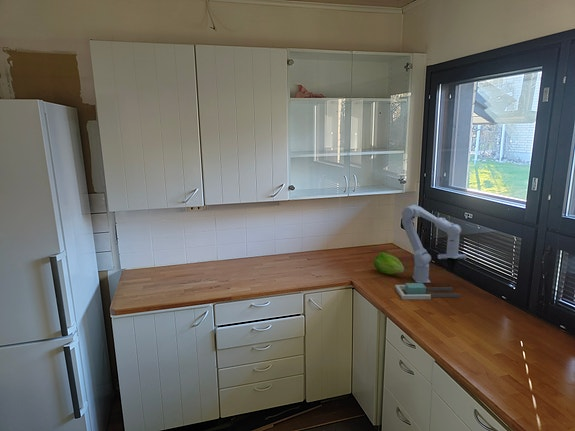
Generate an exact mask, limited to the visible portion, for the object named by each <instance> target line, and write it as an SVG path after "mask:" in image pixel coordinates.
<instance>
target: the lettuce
mask: <svg viewBox="0 0 575 431" xmlns="http://www.w3.org/2000/svg"><path fill="white" fill-rule="evenodd" d="M373 266H374V268H375V269H376V270H377V271H378V272H380V273H382V274H387V275H396V274H400V273H404V272H405V270H406V269H405V267H404V265H403V264H402V261H400V259H399V258H398V257H396V256H394V255H392V254H390V253H386V252H380V253H378V254H377V255H376V257H375V258H374V261H373Z"/></svg>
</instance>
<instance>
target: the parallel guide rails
mask: <svg viewBox="0 0 575 431" xmlns="http://www.w3.org/2000/svg"><path fill="white" fill-rule="evenodd" d="M425 287H426V292H430V291H431V292H432V291H433V292H437V293H429V294H430V295H431V298H459V297H460V293H445V292H447V291H451V292H453V290H454V288H453V287H452V286H446V287H445V286H444V287H443V286H442V287H441V286H434V287H433V286H432V287H431V286H430V287H429V286H428V287H427V286H425ZM441 291H442V292H444V291H445V292H444V293H438V292H441Z"/></svg>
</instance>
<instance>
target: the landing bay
mask: <svg viewBox="0 0 575 431" xmlns="http://www.w3.org/2000/svg"><path fill="white" fill-rule="evenodd" d="M394 285H395V286H394V289H395V291H396V292H397V294H398V295H399V297H400V298H401V299H402V300H431V299H432V297H431V295H430V294H431V293H429V294H427V293H426V294H414V295H407V294H406V293H404V291H403V290H405V284H394Z"/></svg>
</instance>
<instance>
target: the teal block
mask: <svg viewBox="0 0 575 431" xmlns="http://www.w3.org/2000/svg"><path fill="white" fill-rule="evenodd" d="M404 285H405V289H404V292H405V295H414V294H427V291H426V287H427V286H425V283H417V282H412V283H411V282H405V284H404Z"/></svg>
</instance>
